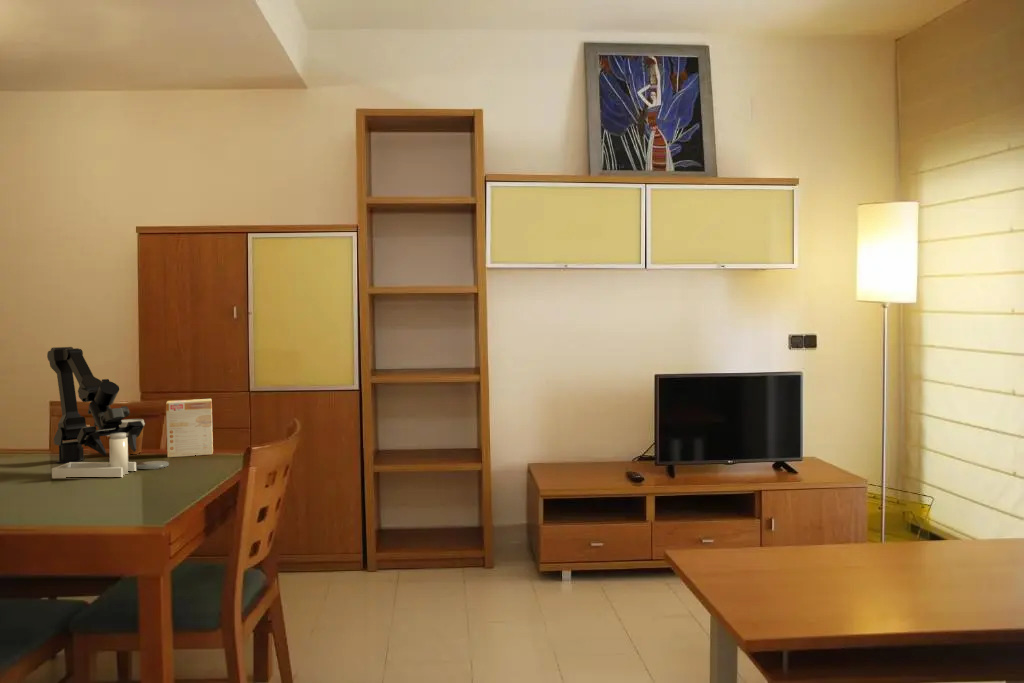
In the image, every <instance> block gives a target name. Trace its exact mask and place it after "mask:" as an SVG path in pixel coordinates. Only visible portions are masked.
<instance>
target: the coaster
mask: <svg viewBox="0 0 1024 683" xmlns="http://www.w3.org/2000/svg"><path fill="white" fill-rule="evenodd" d="M167 466H168V467H169V461H166V460H165V461H164V460H151V461H150V460H149V461H143V462H138V463H136V470H138V469H154V470H159V468H161V469H165V468H168V467H167ZM164 467H165V468H164Z"/></svg>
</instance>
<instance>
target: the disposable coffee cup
mask: <svg viewBox="0 0 1024 683" xmlns="http://www.w3.org/2000/svg"><path fill="white" fill-rule="evenodd" d="M121 421H122V424H121V425H119V427H120V428H121V427H126V426H127V424H128V422H133V421H141V422H142V424H143V426H144V427H145V425H146V422H145V420H144V419H143V418H130V419H129V418H128V419H122V420H121ZM144 427H143V429H142V431H141V433H140V435H139V436H138V437H137V438H136V451H135V452H134V451H133V450H132V449H131V447H130V446H129V444H128V456H131V455H130V454H137V453H139V452H141V453H142V449H143V448H142V447H143V446H142V445H143V438H144ZM137 455H138V454H137Z"/></svg>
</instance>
